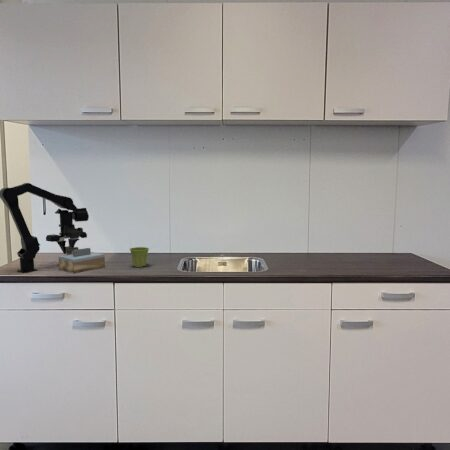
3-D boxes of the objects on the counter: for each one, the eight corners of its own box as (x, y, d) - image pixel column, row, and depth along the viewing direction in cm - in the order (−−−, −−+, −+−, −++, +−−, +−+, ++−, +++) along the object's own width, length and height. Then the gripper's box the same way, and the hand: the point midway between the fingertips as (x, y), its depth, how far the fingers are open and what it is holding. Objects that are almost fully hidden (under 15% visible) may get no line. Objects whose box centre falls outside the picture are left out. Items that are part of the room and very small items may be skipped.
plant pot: (150, 263, 186) (149, 246, 185) (148, 267, 177) (148, 250, 176) (131, 264, 185) (130, 247, 184) (128, 268, 175) (128, 250, 174)
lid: (59, 260, 173) (58, 250, 173) (89, 255, 186) (88, 245, 185) (74, 264, 165) (73, 253, 165) (104, 258, 178) (104, 248, 178)
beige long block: (63, 252, 182) (63, 247, 182) (69, 251, 185) (69, 246, 184) (76, 255, 176) (76, 249, 175) (82, 254, 178) (81, 248, 178)
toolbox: (56, 268, 175) (55, 249, 174) (86, 262, 188) (85, 245, 187) (74, 273, 166) (73, 253, 165) (105, 266, 179) (104, 248, 178)
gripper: (56, 225, 169) (58, 258, 171) (92, 221, 184) (93, 252, 185) (44, 223, 176) (46, 255, 177) (80, 220, 190) (81, 250, 192)
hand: (67, 253), depth 183 cm, fingers closed on beige long block, 3 cm apart
